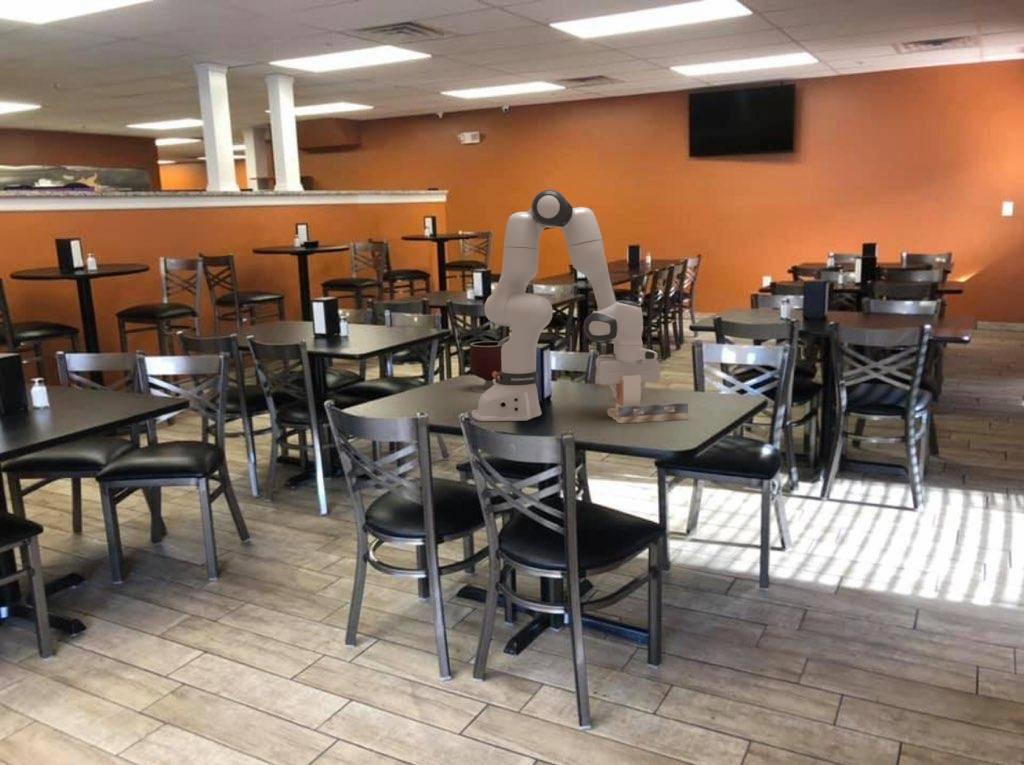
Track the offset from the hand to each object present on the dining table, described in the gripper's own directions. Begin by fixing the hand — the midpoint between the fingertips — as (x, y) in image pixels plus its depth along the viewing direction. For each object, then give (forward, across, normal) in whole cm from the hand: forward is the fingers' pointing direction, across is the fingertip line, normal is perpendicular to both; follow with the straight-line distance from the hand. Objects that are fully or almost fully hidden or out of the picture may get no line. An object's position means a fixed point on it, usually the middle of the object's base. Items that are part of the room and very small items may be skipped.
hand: (627, 396), depth 262 cm
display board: (+6, +6, -1) cm, 9 cm away
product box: (+5, 0, 0) cm, 5 cm away
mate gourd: (+7, -34, +55) cm, 65 cm away
